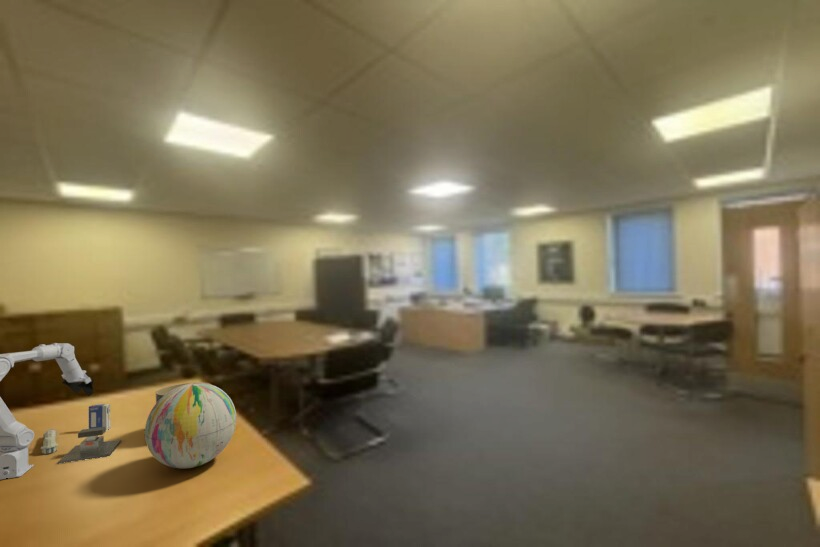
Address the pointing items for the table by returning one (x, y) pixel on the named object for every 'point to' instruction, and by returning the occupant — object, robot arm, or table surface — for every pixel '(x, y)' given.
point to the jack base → (91, 450)
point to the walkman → (99, 416)
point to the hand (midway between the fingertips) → (84, 392)
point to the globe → (190, 425)
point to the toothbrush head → (49, 442)
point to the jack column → (91, 433)
